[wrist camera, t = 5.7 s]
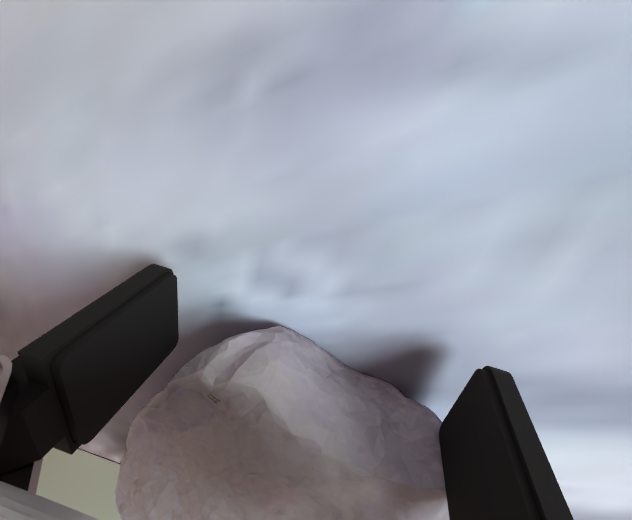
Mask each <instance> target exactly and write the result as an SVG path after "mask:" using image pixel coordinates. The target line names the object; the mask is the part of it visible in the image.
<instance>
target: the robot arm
mask: <svg viewBox="0 0 632 520" xmlns="http://www.w3.org/2000/svg"><path fill="white" fill-rule="evenodd" d="M177 342H178V299H177V277H176V276H175V275H173V271H172V270H171V269H169V268H166V267H162V266H159V265H156V264H151V265H149V266H147V267H146V268H144V269H143V270H141V271H140V272H138V273H137V274H135V275H134V276H132V277H131V278H129V279H128V280H126V281H125V282H123V283H121V284H120V285H118V286H117V287H115V288H114V289H112V290H111V291H109V292H108V293H106V294H105V295H103V296H102V297H100V298H99V299H97V300H96V301H94V302H93V303H91V304H90V305H88V306H87V307H85V308H83V309H82V310H80V311H79V312H77V313H76V314H74V315H73V316H71V317H70V318H68V319H67V320H65V321H64V322H62V323H61V324H59V325H58V326H56V327H55V328H53V329H52V330H50V331H49V332H47V333H45V334H44V335H42V336H41V337H39V338H38V339H36V340H35V341H33V342H32V343H30V344H29V345H27V346H26V347H24V348H23V349H21V350H20V351H18V354H19V356H18V357H17V358H15V359H14V360H12V361H11V360H10V359H9V358H8V357H6V356H4V355H2V354H0V520H99V519H97V518H94V517H92V516H89V515H87V514H84V513H82V512H79V511H77V510H74V509H72V508H70V507H67V506H65V505H62V504H60V503H57V502H55V501H52V500H50V499H47V498H44V497H42V496H39V495H36V491H37V486H38V481H39V476H40V471H41V466H42V461H43V457H44V456H45V455H46V454H47V453H48V452H49V451H50V450H51V449H52V448H55V449H58V450H60V451H63V452H65V453H68V454H71V455H72V454H73V453H74V452H75V451H76V450H77V449H78V448H79V447H80V446H81V444H87V443H88V442H90V441H91V440H92V439H93V438H94V437H95V436H96V435H97V434H98V433H99V431H100V430H101V429H102V428H103V427H104V426H105V425H106V424H107V423H108V421H109V420H110V419H111V418H112V417H113V416H114V415H115V414H116V413H117V411H118V410H119V409H120V408H121V407H122V406H123V405H124V404H125V403H126V401H127V400H128V399H129V398H130V397H131V396H132V395H133V394H134V393H135V391H136V390H137V389H138V388H139V387H140V386H141V385H142V384H143V383H144V382H145V380H146V379H147V378H148V377H149V376H150V375H151V374H152V373H153V372H154V370H155V369H156V368H157V367H158V366H159V365H160V364H161V363H162V362H163V360H164V359H165V358H166V357H167V356H168V355H169V354H170V353H171V352H172V350H173V349H174V348H175V346H176V345H177ZM439 442H440V450H441V458H442V465H443V473H444V481H445V488H446V496H447V504H448V511H449V519H450V520H573V517H572V515H571V513H570V510H569V508H568V506H567V503H566V501H565V499H564V496H563V494H562V492H561V489H560V487H559V484H558V482H557V480H556V477H555V475H554V473H553V470H552V468H551V466H550V463H549V461H548V459H547V456H546V454H545V452H544V449H543V447H542V445H541V442H540V440H539V438H538V435H537V433H536V431H535V428H534V426H533V424H532V421H531V419H530V417H529V414H528V412H527V410H526V407H525V405H524V403H523V400H522V398H521V396H520V393H519V391H518V389H517V386H516V384H515V382H514V379H513V377H512V375H511V374H510V373H509V372H506V371H503V370H500V369H497V368H493V367H490V366H485V367H484V368H483V369H477V370H476V371H475V372H474V374H473V375H472V377H471V379H470V380H469V382H468V383H467V385H466V386H465V388H464V390H463V391H462V393H461V394H460V396H459V397H458V399H457V401H456V402H455V404H454V405H453V407H452V408H451V410H450V411H449V413H448V415H447V416H446V418H445V419H444V421H443V422H442V424H441V426H440V430H439Z"/></svg>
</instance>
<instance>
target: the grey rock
mask: <svg viewBox="0 0 632 520" xmlns="http://www.w3.org/2000/svg"><path fill="white" fill-rule="evenodd" d="M441 424H442V422H441V420H440V419H439V418H438V417H437V415H436V414H435V413H434V412H433V411H431V410H430V409H429V408H428V407H425V406H421V405H420V404H418V403H417V402H415V401H414V400H411V399H409V398H406V397H404V395H403V394H402V393H401V392H400V391H399V390H398V389H397V388H396V387H395V386H393V385H391V384H390V383H387V382H385V381H382V380H380V379H377V378H374V377H371V376H368V375H365V374H362V373H359V372H357V371H355V370H353V369H351V368H349V367H347V366H345V365H344V364H343V363H341V362H340V361H339V360H337V359H336V358H335V357H334V356H332V355H331V354H329V353H328V352H326V351H324V350H323V349H321V348H320V347H318V346H317V345H316V344H315V343H314V342H313V341H312V340H310V339H308V338H305V337H304V336H302V335H300V334H298V333H296V332H295V331H292V330H289V329H287V328H284V327H282V326H275V327H270V328H268V329H260V330H255V331H250V332H246V333H242V334H238V335H235V336H232V337H229V338H227V339H225V340H223V341H222V342H221V343H219V344H217V345H214V346H212V347H210V348H207V349H205V350H203V351H201V352H200V353H198V354H197V355H196V356H195V357H194V358H192V359H191V360H190V361H188V362H187V363H185V364H184V365H183V366H182V367H181V368H180V369H179V370H178V371H177V373H176V374H175V375H174V377H173V378H172V379H171V381H170V382H169V383H168V384H167V386H166V387H165V389H164V390H163V391H161V392H159V393H157V394H156V395H154V396H153V397H152V398H151V399H150V401H149V402H148V404H147V405H146V406H145V408H143V409H141V410H140V412H139V413H138V414H137V416H136V418H135V419H134V421H133V422H132V424H131V425H130V427H129V432H128V435H127V439H126V447H127V451H126V452H125V454H124V456H123V458H122V460H121V462H120V471H119V476H118V480H117V485H116V489H115V495H116V499H115V500H116V507H117V510H118V512H119V514H120V516H121V519H122V520H450V519H449V511H448V504H447V496H446V488H445V481H444V473H443V465H442V458H441V450H440V442H439V430H440V426H441Z"/></svg>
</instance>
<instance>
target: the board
mask: <svg viewBox="0 0 632 520" xmlns="http://www.w3.org/2000/svg"><path fill="white" fill-rule="evenodd" d="M119 471H120V464H117V463H115V462H112V461H109V460H107V459H104V458H101V457H99V456H96V455H93V454H90V453H88V452H85V451H82V450H80V449H77V450H76V451H75V452H74V453H73V454H72V455H71V454H68V453H65V452H63V451H60V450H58V449H55V448H52V449H51V450H50V451H49V452H48V453H47V454H46V455H45V456H44V457H43V461H42V466H41V471H40V476H39V481H38V486H37V491H36V495H39V496H42V497H44V498H47V499H50V500H52V501H55V502H57V503H60V504H62V505H65V506H67V507H70V508H72V509H74V510H77V511H79V512H82V513H84V514H87V515H89V516H92V517H94V518H97V519H99V520H122V519H121V516H120V514H119V512H118V510H117V507H116V500H115V499H116V495H115V489H116V485H117V480H118V476H119Z"/></svg>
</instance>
